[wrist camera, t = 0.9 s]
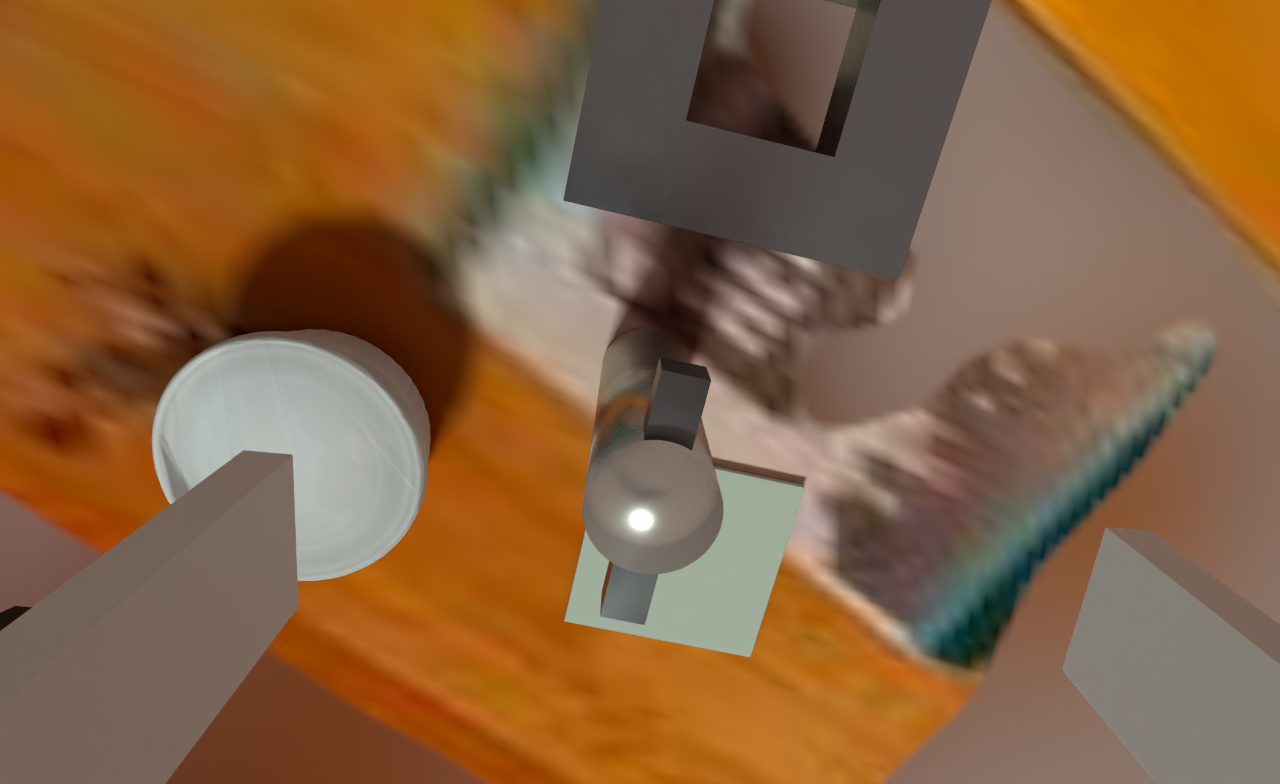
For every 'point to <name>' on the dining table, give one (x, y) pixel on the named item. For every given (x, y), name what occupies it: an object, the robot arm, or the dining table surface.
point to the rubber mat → (708, 573)
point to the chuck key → (649, 470)
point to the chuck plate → (767, 171)
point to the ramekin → (305, 436)
